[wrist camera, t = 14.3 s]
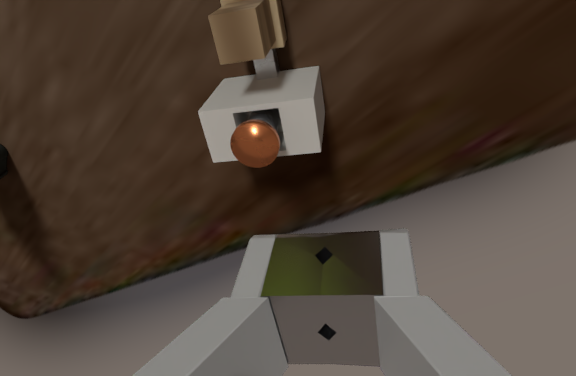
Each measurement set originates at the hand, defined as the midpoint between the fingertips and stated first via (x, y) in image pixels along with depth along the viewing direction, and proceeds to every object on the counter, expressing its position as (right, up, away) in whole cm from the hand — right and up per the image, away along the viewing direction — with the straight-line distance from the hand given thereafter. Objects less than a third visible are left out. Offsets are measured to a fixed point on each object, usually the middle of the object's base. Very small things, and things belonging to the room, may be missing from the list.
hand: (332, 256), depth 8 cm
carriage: (-4, +18, +30) cm, 35 cm away
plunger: (-3, +8, +30) cm, 31 cm away
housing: (-2, +11, +34) cm, 36 cm away
